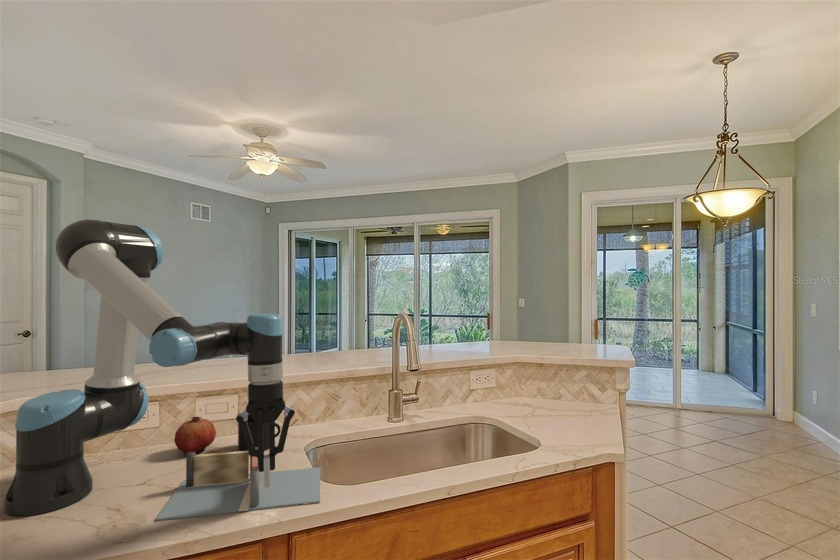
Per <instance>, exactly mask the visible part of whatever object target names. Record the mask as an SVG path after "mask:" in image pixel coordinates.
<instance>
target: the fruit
mask: <svg viewBox="0 0 840 560" xmlns="http://www.w3.org/2000/svg"><path fill="white" fill-rule="evenodd" d="M190 419H191V420H188V421H185V422H183V423H182V424H181V425H179V427H178V428H177V430H176V431H175V435H174V444H175V446H176V447H177V449H178V450H179V451H181V452H183V453H184V452H185V453H190V452H195V453H197V452H201V451H202V450H205V449H206V448H207V447H209V446H210V445H212V443H213V442H214V441H215V439H216V435H217V431H216V428H215V425H214V424H213V422H212V421H210V420H209V419H205V418H202V417H201V416H192V417H190Z"/></svg>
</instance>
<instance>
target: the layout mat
mask: <svg viewBox="0 0 840 560" xmlns="http://www.w3.org/2000/svg"><path fill="white" fill-rule="evenodd" d="M250 483H251V480H250V473H249V479H248V481H239V482H229V483H218V484H208V485H198V486H192V487H186V479H184V480H182V482H181V483H180V485H179V486H178V487H177V489H176V490H175V492H174V493H173V495H172V496H171V497H170V499H169V500H168V501H167V503H166V505H165V506H164V507H163V508H162V510H161V511H160V513H159V514H158V515H157V517H156V519H155V522H160V521H169V520H176V519H185V518H194V517H204V516H213V515H221V514H230V513H231V514H232V513H238V512H239V513H240V512H241V513H242V512H247V511H259V510H265V509H266V510H268V509H276V508H283V506H286V507H290V506H289V505H295V506H297V505H296V504H304V505H306V504H305V503H313V504H315V503H314V502H320V503H321V466H319V467H318V466H317V467H308V468H299V469H288V470H287V469H285V470H277V471H275V470H274V471H270V487H266V488H264V472H259V504H258V505H257V506H251V505H250Z"/></svg>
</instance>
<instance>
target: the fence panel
mask: <svg viewBox="0 0 840 560" xmlns="http://www.w3.org/2000/svg"><path fill="white" fill-rule="evenodd" d="M259 473H260V472H259V470H258V459H257V457H252V471H251V483H250V505H251V506H257V505H258V504H259Z"/></svg>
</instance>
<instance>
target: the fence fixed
mask: <svg viewBox="0 0 840 560" xmlns="http://www.w3.org/2000/svg"><path fill="white" fill-rule="evenodd" d="M255 449H258V447H255ZM249 457H250V458H249ZM185 458H186V459H185V461H186V464H185V465H186V466H185V467H186V468H185V473H186V474H185V477H186V478H185V480H186V487H192V486H198V485H208V484H218V483H229V482H239V481H248V479H249V474H250V480H251V471H252V457H251V456H250V455H249V452H248V451H239V450H237V451H228V452H217V453H214V452H213V453H205V454H197V452H186V457H185ZM249 459H250V460H249ZM257 459H258V458H257ZM249 461H250V463H249ZM249 465H250V467H249ZM249 470H250V471H249Z"/></svg>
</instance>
